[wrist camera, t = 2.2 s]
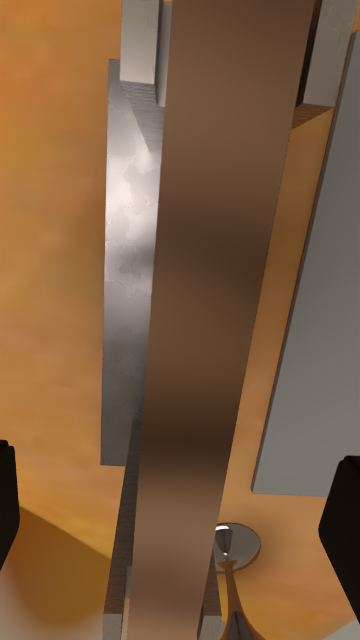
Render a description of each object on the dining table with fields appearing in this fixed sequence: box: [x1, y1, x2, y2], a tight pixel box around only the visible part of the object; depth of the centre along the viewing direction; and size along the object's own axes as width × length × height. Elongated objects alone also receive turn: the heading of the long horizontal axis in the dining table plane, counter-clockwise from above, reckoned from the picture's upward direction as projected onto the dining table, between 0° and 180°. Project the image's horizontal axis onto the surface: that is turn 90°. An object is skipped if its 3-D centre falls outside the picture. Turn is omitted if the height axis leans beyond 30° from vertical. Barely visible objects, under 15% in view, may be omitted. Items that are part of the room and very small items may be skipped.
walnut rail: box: [127, 0, 315, 640], centre depth 12 cm, size 30×3×2 cm, turn 174°
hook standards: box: [100, 0, 358, 640], centre depth 18 cm, size 28×10×14 cm, turn 174°
